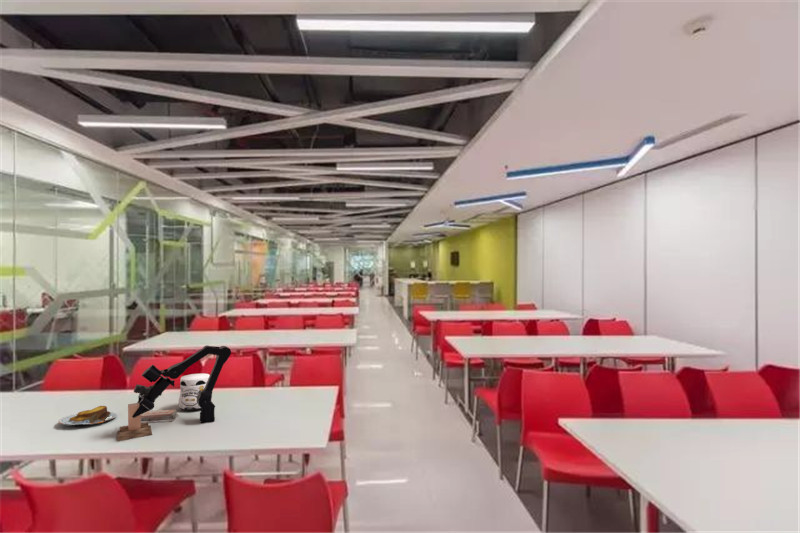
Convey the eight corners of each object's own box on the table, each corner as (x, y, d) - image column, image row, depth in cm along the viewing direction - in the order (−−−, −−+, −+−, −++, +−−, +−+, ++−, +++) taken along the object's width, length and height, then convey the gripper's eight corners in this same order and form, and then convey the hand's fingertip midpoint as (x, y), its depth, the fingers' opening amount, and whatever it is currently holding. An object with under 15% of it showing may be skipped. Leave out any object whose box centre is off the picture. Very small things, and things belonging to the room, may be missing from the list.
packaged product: (178, 407, 240) (172, 413, 231) (178, 416, 240) (172, 422, 231) (143, 409, 238) (134, 415, 228) (143, 418, 238) (134, 424, 228)
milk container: (183, 414, 242) (183, 381, 242) (174, 407, 255) (174, 376, 255) (216, 408, 253) (216, 376, 253) (206, 401, 266) (206, 371, 266)
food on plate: (61, 420, 237) (61, 407, 237) (117, 411, 250) (117, 400, 250) (55, 434, 216) (55, 420, 216) (116, 424, 229) (116, 411, 229)
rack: (150, 427, 223) (150, 421, 223) (152, 434, 212) (151, 428, 212) (117, 432, 215) (117, 426, 215) (117, 441, 204) (117, 434, 204)
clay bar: (140, 429, 217) (140, 402, 217) (140, 432, 213) (140, 405, 213) (128, 431, 214) (128, 404, 215) (128, 434, 210) (128, 406, 210)
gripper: (144, 374, 224) (118, 400, 218) (145, 382, 208) (118, 409, 202) (162, 387, 228) (137, 413, 222) (165, 396, 213) (138, 423, 207)
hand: (132, 414), depth 213 cm, fingers open, 9 cm apart
